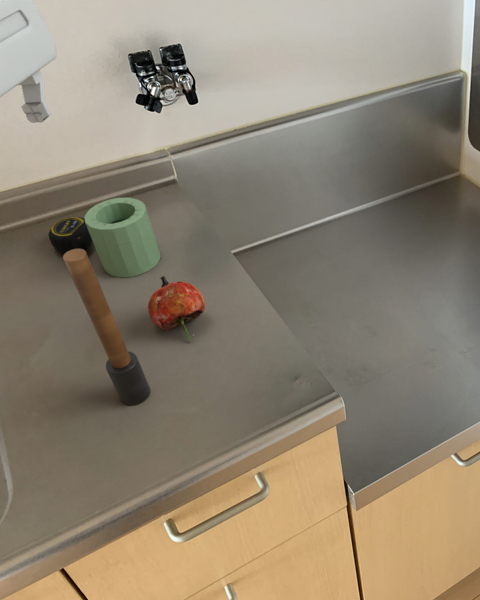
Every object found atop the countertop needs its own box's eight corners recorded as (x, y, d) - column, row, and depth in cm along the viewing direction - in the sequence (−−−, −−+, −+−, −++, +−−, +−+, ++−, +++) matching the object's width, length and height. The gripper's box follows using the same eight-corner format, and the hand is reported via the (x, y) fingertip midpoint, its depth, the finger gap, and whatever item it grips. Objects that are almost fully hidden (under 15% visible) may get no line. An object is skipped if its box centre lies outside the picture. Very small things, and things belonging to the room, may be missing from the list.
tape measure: (89, 258, 98) (81, 239, 95) (47, 257, 98) (38, 238, 96) (106, 233, 103) (99, 215, 101) (66, 232, 103) (58, 214, 101)
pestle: (122, 409, 75) (55, 269, 61) (119, 389, 78) (54, 249, 63) (152, 399, 76) (94, 260, 62) (148, 380, 79) (91, 241, 64)
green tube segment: (106, 283, 93) (86, 234, 87) (101, 252, 99) (82, 205, 93) (164, 268, 96) (149, 220, 90) (156, 239, 102) (141, 192, 96)
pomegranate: (219, 337, 88) (199, 273, 89) (210, 330, 80) (188, 260, 82) (167, 354, 86) (147, 288, 88) (153, 348, 79) (132, 277, 81)
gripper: (-24, -39, 59) (41, 98, 68) (-197, 28, 44) (-83, 194, 53) (35, -44, 59) (94, 96, 68) (-119, 23, 43) (-17, 192, 52)
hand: (15, 140), depth 60 cm, fingers open, 8 cm apart
